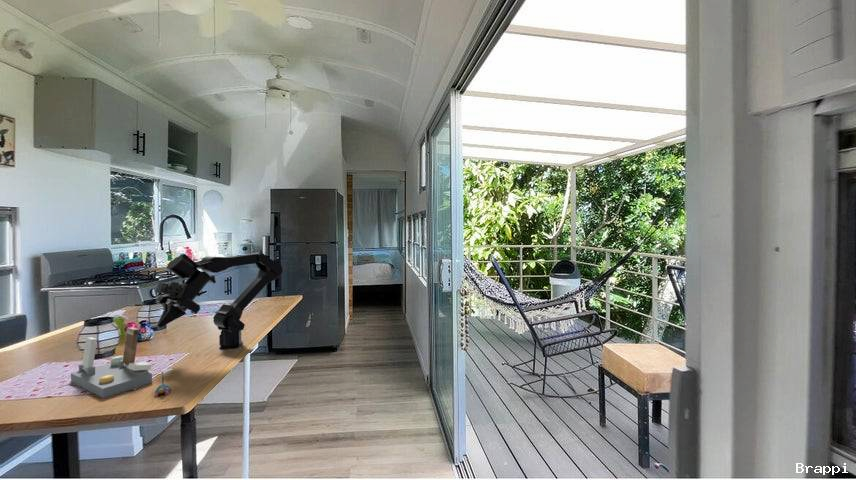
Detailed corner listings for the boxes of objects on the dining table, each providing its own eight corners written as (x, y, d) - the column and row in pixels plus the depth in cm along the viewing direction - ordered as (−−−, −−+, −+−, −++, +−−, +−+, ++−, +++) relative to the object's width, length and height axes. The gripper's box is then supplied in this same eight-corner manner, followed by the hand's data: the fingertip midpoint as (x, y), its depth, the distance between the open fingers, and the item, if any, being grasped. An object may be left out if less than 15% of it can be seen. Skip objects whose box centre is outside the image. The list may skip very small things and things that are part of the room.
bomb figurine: (186, 388, 98) (185, 369, 98) (165, 401, 91) (165, 381, 90) (158, 388, 98) (157, 369, 98) (135, 402, 91) (134, 381, 91)
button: (121, 361, 111) (121, 354, 111) (126, 363, 109) (126, 356, 109) (109, 365, 108) (108, 358, 108) (113, 366, 106) (113, 359, 106)
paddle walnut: (127, 362, 107) (132, 327, 108) (134, 365, 105) (139, 329, 106) (122, 363, 106) (127, 327, 107) (128, 366, 104) (133, 329, 105)
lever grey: (87, 366, 104) (91, 337, 105) (92, 368, 102) (97, 339, 103) (81, 367, 103) (86, 337, 104) (87, 369, 101) (91, 339, 102)
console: (118, 368, 112) (117, 354, 112) (152, 382, 101) (151, 366, 101) (71, 381, 102) (70, 366, 102) (102, 398, 92) (102, 381, 92)
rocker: (143, 367, 104) (145, 362, 105) (150, 369, 103) (151, 364, 103) (127, 368, 101) (129, 363, 101) (134, 370, 99) (135, 365, 99)
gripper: (160, 272, 121) (123, 311, 112) (186, 273, 111) (147, 316, 102) (187, 290, 128) (154, 328, 119) (214, 292, 118) (180, 334, 109)
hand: (158, 326), depth 112 cm, fingers closed
